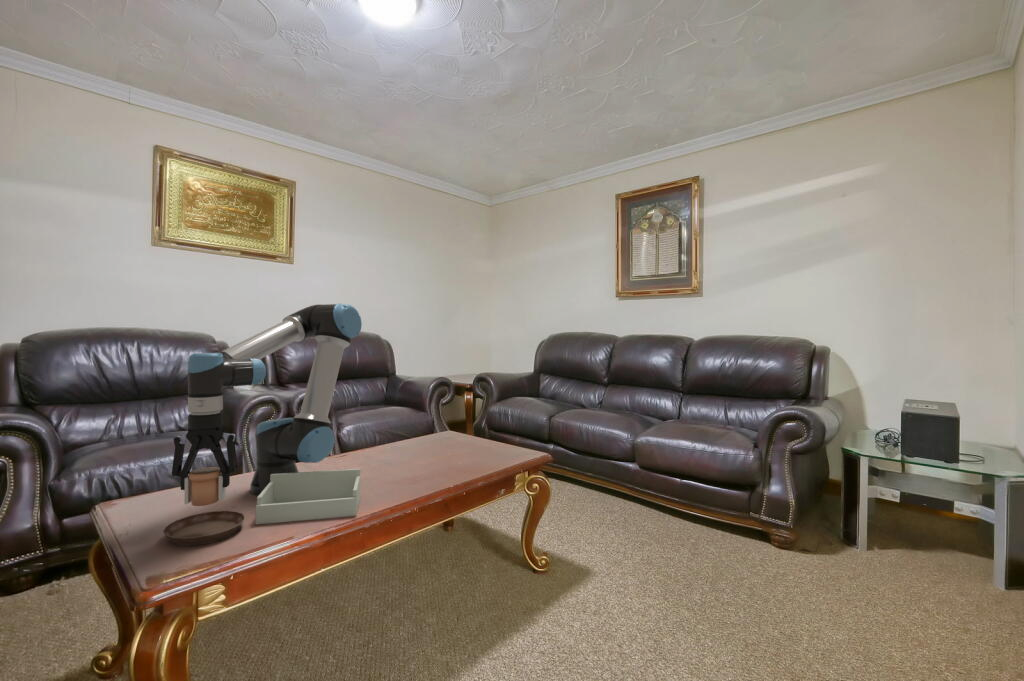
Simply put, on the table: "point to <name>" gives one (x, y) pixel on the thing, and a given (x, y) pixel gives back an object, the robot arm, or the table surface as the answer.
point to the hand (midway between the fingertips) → (205, 500)
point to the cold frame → (309, 496)
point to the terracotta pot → (204, 486)
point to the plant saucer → (203, 527)
